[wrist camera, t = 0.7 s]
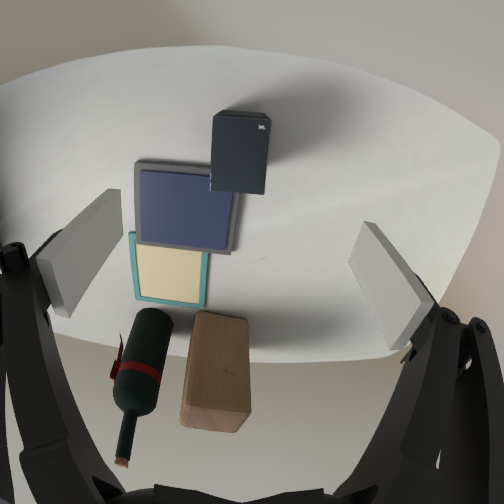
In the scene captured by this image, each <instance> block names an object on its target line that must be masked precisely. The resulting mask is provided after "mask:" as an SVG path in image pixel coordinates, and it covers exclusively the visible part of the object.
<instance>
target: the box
mask: <svg viewBox="0 0 504 504" xmlns="http://www.w3.org/2000/svg"><path fill="white" fill-rule="evenodd" d="M271 126H272V120H271V119H270V118H269V117H268V116H267V115H266V114H265V113H255V112H243V111H229V110H222V111H220V112H219V113H217V114H216V115H215V116H213V127H212V147H211V173H210V191H217V192H233V193H248V194H259V195H264V194H265V180H266V169H267V159H268V150H269V142H270V133H271Z"/></svg>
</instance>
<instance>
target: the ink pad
mask: <svg viewBox="0 0 504 504" xmlns="http://www.w3.org/2000/svg"><path fill="white" fill-rule="evenodd" d="M210 173H211V167H205V166H195V165H184V164H172V163H158V162H140V161H137V162H135V163H134V203H135V229H136V244H138V245H147V246H155V247H164V248H172V249H181V250H189V251H198V252H206V253H215V254H224V255H231V250H232V243H233V236H234V229H235V222H236V215H237V208H238V201H239V195H240V193H233V192H217V191H210Z"/></svg>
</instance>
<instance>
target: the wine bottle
mask: <svg viewBox="0 0 504 504" xmlns="http://www.w3.org/2000/svg"><path fill="white" fill-rule="evenodd" d="M172 328H173V322H172V320H171V318H170V317H169V316H168V315H167V314H165V313H164V312H163V311H161V310H157V309H154V308H145V309H142V310H140V311H139V312H138V313H137V315H136V318H135V321H134V323H133V326H132V329H131V332H130V335H129V338H128V341H127V344H126V347H125V350H124V354H123V357H122V352H123V343H122V337H121V334H120V338H121V343H120V348H119V353H118V358H117V360H115V361H114V364H113V367H112V370H111V373H110V378H111V379H114V387H113V397H114V401H115V403H116V405H117V406H118V407H119V408H120V409H121V410H122V411H123V412H124V416H123V421H122V425H121V430H120V435H119V440H118V445H117V450H116V455H115V456H116V460H115V464H117V465H118V466H122V467H126V468H128V461H130V455H131V449H132V443H133V438H134V432H135V427H136V421H137V417H140V416H144V415H147V414H149V413H151V412H152V411H153V410H154V409H155V408H156V404H157V399H158V393H159V388H160V383H161V378H162V373H163V369H164V364H165V359H166V355H167V350H168V346H169V341H170V337H171V333H172ZM121 357H122V360H121Z"/></svg>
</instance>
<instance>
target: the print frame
mask: <svg viewBox="0 0 504 504" xmlns="http://www.w3.org/2000/svg"><path fill="white" fill-rule="evenodd" d="M128 236H129V248H130V259H131V268H132V276H133V284H134V292H135V298H136V300H141V301H147V302H154V303H161V304H168V305H175V306H183V307H191V308H199V309H204V303H205V288H206V275H207V262H208V253H206V252H198V251H189V250H181V249H172V248H164V247H155V246H147V245H138V244H136V233H135V232H129V233H128Z"/></svg>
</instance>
